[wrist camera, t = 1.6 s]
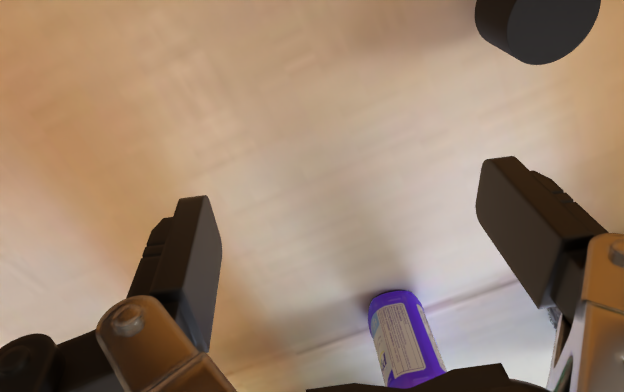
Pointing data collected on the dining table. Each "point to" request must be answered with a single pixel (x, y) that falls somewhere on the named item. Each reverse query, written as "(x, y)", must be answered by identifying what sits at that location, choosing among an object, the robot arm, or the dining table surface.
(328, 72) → the dining table surface
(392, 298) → the bottle
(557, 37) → the cylinder
